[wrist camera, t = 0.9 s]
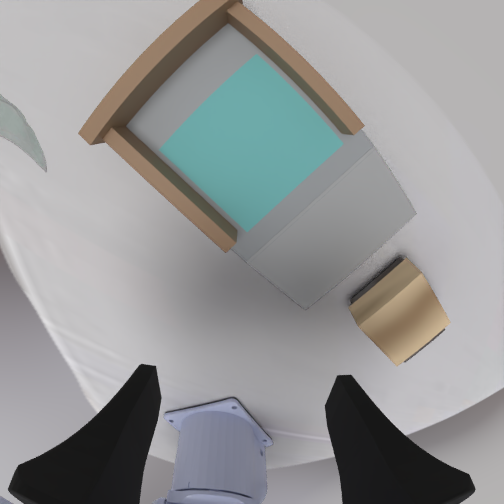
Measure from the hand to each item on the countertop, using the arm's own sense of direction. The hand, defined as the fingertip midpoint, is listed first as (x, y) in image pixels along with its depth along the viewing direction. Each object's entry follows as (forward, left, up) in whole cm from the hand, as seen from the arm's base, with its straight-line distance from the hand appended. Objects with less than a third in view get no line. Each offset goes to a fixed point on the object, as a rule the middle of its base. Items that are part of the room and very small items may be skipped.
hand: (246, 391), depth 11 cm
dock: (+6, -5, -10) cm, 13 cm away
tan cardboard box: (-6, -9, -10) cm, 15 cm away
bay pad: (+8, -4, -10) cm, 13 cm away
